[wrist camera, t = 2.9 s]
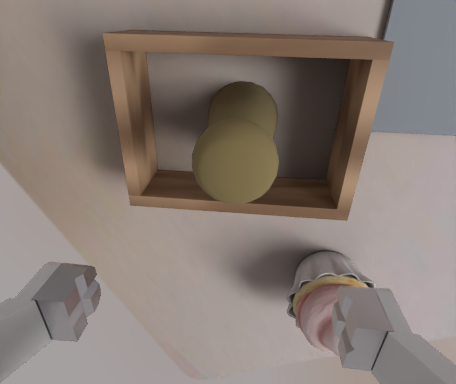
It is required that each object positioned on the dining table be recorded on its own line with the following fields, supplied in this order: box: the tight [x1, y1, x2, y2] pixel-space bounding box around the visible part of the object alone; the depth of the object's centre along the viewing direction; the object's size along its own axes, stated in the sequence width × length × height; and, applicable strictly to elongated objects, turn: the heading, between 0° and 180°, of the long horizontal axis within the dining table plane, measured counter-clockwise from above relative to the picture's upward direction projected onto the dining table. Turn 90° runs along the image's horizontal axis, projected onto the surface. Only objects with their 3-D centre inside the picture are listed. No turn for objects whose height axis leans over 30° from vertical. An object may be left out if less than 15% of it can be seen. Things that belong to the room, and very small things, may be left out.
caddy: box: [102, 30, 394, 221], centre depth 24 cm, size 13×18×5 cm
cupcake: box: [286, 251, 376, 356], centre depth 30 cm, size 9×9×10 cm
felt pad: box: [371, 0, 456, 136], centre depth 23 cm, size 11×11×1 cm
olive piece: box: [192, 82, 279, 204], centre depth 22 cm, size 6×6×11 cm
